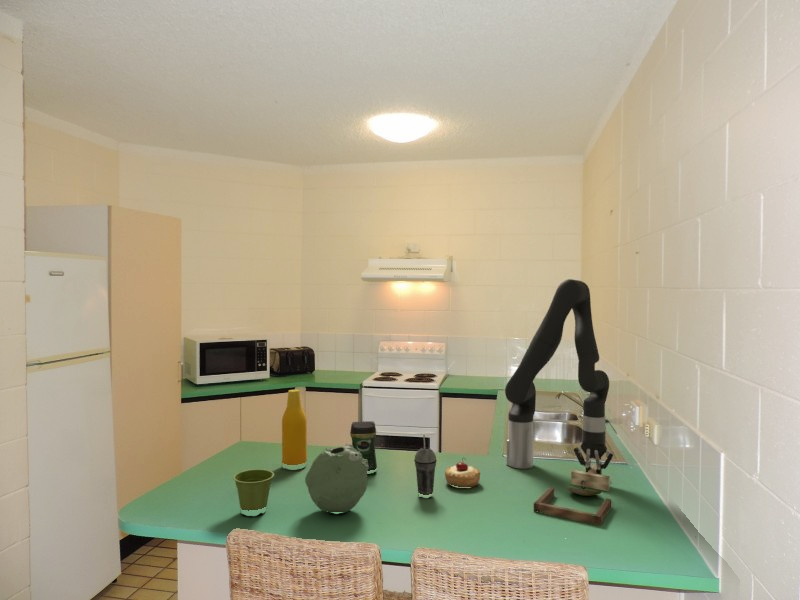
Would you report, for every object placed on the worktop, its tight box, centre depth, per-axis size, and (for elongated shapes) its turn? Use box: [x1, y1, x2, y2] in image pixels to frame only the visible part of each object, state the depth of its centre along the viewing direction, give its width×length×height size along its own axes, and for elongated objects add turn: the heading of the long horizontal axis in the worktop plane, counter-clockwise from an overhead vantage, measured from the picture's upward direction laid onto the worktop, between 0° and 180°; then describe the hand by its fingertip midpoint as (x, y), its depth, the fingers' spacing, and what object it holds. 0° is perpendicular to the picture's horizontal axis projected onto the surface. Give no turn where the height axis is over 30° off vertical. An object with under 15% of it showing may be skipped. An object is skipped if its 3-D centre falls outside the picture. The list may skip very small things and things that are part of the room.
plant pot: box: [232, 468, 275, 511], centre depth 162 cm, size 12×12×11 cm
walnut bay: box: [533, 487, 612, 527], centre depth 164 cm, size 19×16×2 cm
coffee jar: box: [349, 420, 378, 471], centre depth 199 cm, size 10×8×19 cm
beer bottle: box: [281, 389, 308, 465], centre depth 205 cm, size 9×9×29 cm
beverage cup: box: [413, 434, 437, 495], centre depth 175 cm, size 7×7×20 cm
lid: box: [566, 480, 602, 497], centre depth 174 cm, size 11×10×5 cm
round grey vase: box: [304, 443, 369, 513], centre depth 162 cm, size 16×19×20 cm
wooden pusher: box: [570, 463, 611, 492], centre depth 187 cm, size 12×12×4 cm
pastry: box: [444, 457, 481, 487], centre depth 186 cm, size 12×12×9 cm
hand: (593, 478), depth 187 cm, fingers closed on wooden pusher, 2 cm apart
